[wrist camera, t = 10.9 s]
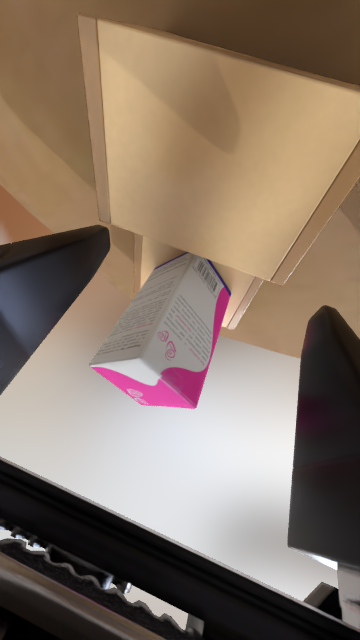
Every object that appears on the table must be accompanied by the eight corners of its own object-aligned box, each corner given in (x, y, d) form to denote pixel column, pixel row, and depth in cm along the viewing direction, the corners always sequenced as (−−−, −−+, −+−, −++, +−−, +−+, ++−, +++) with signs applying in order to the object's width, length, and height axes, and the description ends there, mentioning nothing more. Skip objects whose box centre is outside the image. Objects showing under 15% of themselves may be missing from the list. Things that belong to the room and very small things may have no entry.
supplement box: (152, 268, 23) (83, 365, 15) (201, 243, 19) (140, 355, 12) (185, 309, 25) (140, 408, 18) (233, 294, 22) (201, 411, 14)
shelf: (364, 86, 13) (411, 106, 7) (238, 309, 27) (223, 369, 22) (163, 30, 14) (75, 12, 8) (146, 274, 28) (110, 324, 23)
